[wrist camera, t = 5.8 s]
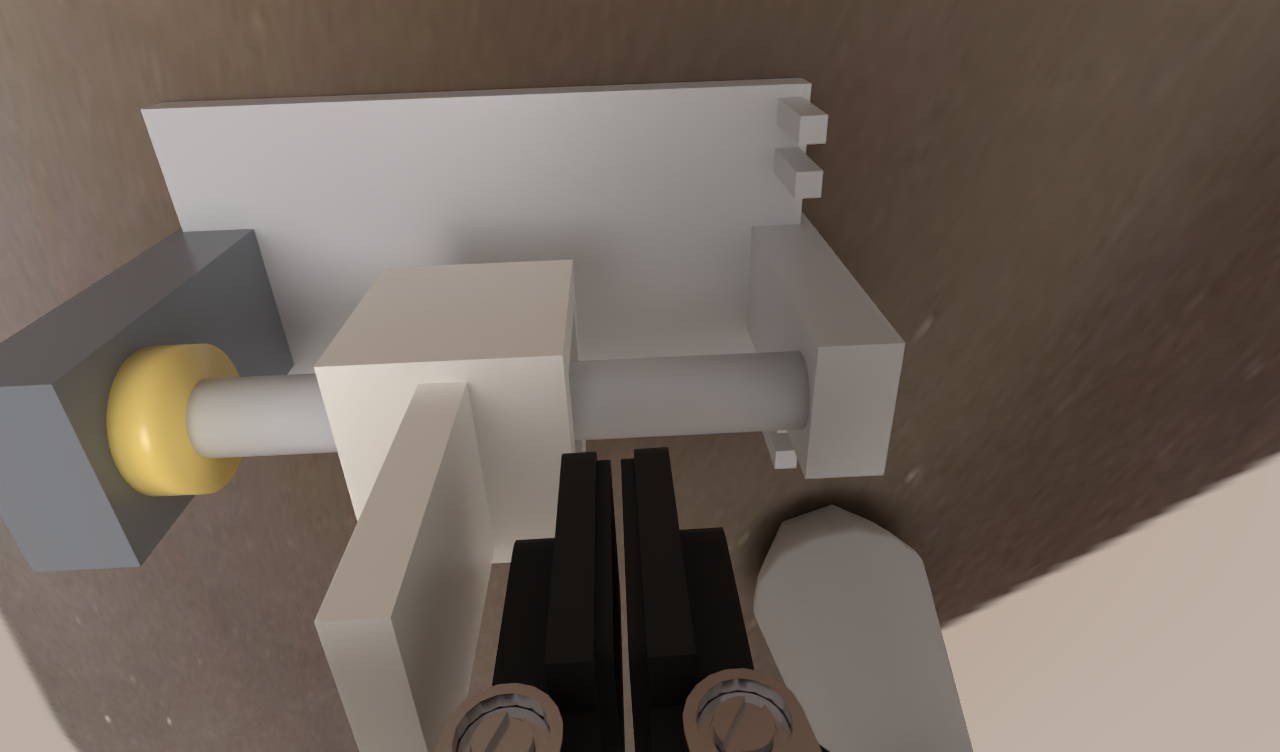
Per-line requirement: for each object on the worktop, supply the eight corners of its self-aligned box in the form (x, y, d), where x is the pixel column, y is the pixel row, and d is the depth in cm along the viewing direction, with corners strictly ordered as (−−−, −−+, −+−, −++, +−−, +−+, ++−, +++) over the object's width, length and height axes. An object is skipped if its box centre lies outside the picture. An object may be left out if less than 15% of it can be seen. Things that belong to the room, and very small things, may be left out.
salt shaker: (802, 461, 25) (969, 886, 13) (935, 520, 26) (1186, 945, 15) (713, 577, 27) (790, 1020, 16) (839, 625, 29) (992, 1060, 17)
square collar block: (572, 259, 16) (538, 582, 8) (586, 430, 18) (571, 825, 10) (384, 267, 16) (145, 602, 8) (420, 438, 18) (266, 844, 10)
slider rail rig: (813, 77, 19) (964, 161, 11) (787, 410, 24) (877, 634, 16) (154, 102, 18) (-180, 209, 11) (266, 436, 23) (95, 678, 15)
